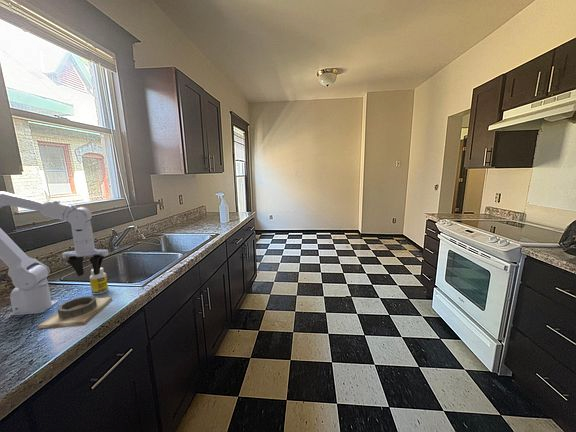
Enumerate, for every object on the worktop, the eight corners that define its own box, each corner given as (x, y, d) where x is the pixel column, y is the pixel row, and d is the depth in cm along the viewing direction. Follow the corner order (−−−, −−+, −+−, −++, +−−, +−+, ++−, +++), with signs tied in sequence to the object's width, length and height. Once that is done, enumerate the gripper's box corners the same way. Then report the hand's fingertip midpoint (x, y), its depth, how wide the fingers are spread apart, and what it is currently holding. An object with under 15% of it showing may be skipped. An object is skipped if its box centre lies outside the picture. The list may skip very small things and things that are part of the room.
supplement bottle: (99, 295, 98) (96, 272, 96) (88, 294, 99) (84, 271, 97) (111, 289, 103) (108, 266, 102) (100, 288, 104) (97, 266, 103)
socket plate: (38, 328, 77) (36, 318, 76) (74, 302, 93) (72, 293, 92) (84, 324, 79) (82, 314, 78) (112, 299, 94) (110, 291, 94)
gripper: (53, 244, 86) (59, 280, 89) (98, 241, 88) (104, 277, 91) (67, 238, 93) (73, 272, 95) (109, 237, 95) (114, 270, 98)
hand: (89, 274), depth 94 cm, fingers open, 5 cm apart
